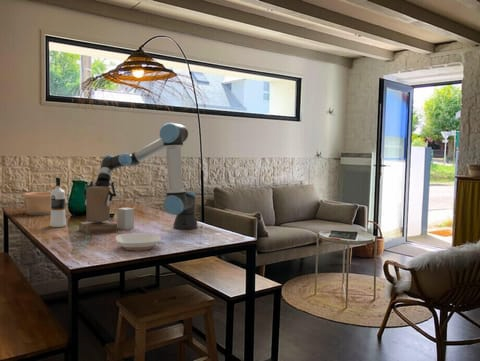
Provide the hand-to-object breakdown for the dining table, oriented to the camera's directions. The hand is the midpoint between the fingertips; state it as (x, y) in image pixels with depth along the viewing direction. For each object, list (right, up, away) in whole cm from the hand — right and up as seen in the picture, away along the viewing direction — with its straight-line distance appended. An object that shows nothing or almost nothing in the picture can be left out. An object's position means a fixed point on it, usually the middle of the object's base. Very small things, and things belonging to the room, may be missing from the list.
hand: (96, 204), depth 241 cm
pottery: (-60, -10, +57) cm, 84 cm away
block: (0, -10, +3) cm, 10 cm away
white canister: (+13, -15, +15) cm, 25 cm away
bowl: (+32, -20, -34) cm, 51 cm away
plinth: (-1, -16, +4) cm, 16 cm away
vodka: (-28, -14, +14) cm, 35 cm away
